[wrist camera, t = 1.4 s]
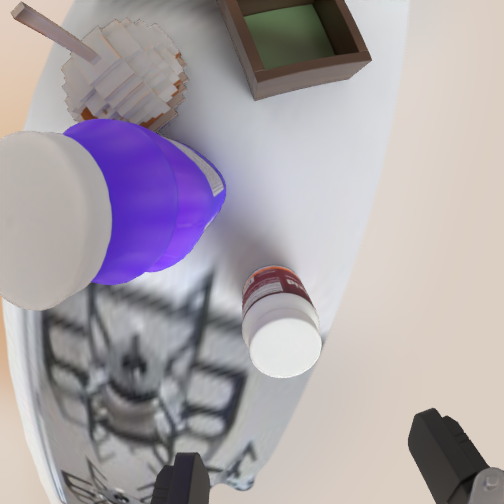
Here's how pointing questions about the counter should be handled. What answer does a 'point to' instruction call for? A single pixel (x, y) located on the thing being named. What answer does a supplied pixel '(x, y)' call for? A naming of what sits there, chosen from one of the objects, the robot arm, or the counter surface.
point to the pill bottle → (279, 323)
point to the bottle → (97, 208)
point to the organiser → (294, 43)
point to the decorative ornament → (117, 70)
